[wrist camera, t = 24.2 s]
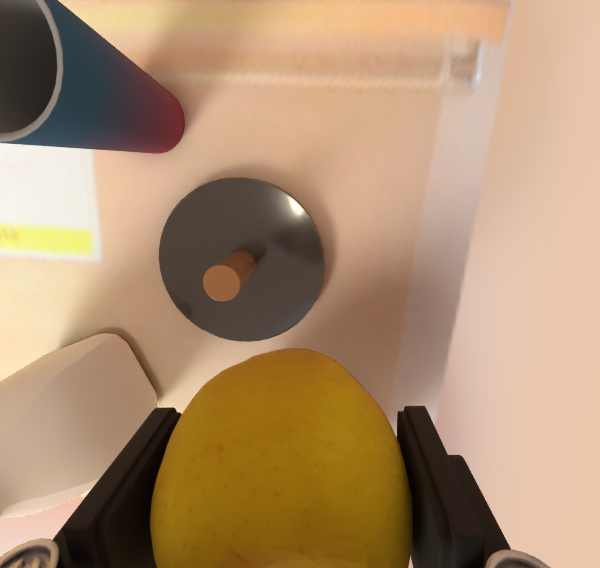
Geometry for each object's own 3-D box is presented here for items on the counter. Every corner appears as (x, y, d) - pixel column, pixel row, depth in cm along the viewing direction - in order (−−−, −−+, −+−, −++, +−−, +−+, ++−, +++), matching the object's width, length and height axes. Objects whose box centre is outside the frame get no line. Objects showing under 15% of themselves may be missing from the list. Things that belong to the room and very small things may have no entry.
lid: (320, 171, 28) (319, 166, 21) (327, 333, 32) (330, 373, 25) (151, 184, 29) (99, 183, 22) (178, 339, 33) (140, 379, 26)
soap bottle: (124, 320, 33) (-266, 585, 11) (172, 403, 35) (-76, 764, 13) (42, 353, 34) (-448, 644, 12) (92, 431, 37) (-250, 796, 15)
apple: (185, 345, 13) (-16, 573, 5) (348, 289, 12) (393, 469, 4) (251, 479, 14) (169, 810, 7) (402, 439, 13) (508, 774, 6)
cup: (183, 64, 27) (23, -80, 12) (204, 156, 29) (86, 124, 14) (101, 82, 28) (-140, -33, 13) (127, 172, 29) (-61, 156, 15)
